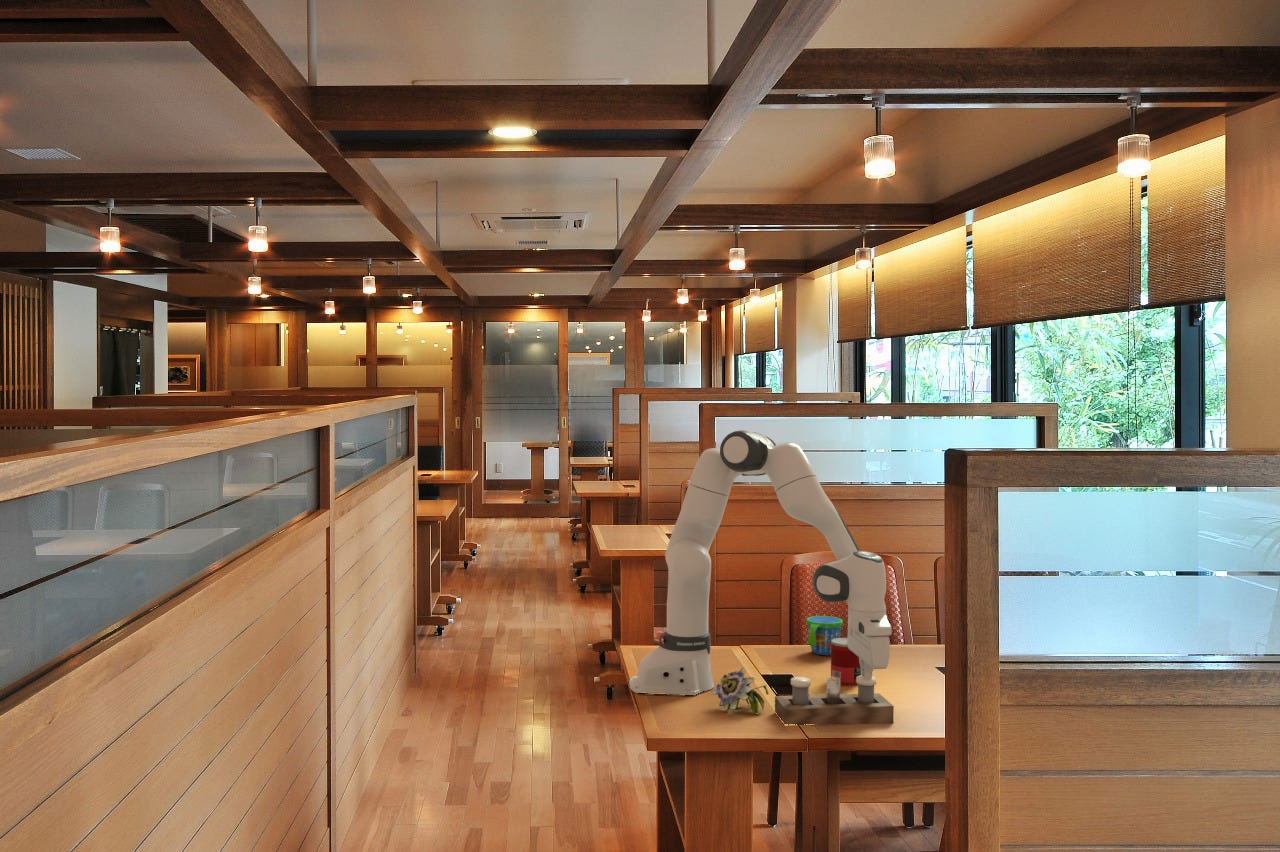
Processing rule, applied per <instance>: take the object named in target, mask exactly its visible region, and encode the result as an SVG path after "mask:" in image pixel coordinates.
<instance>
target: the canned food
mask: <svg viewBox="0 0 1280 852" xmlns="http://www.w3.org/2000/svg"><path fill="white" fill-rule="evenodd" d="M860 675H861V667H860V662H859V657H858V656H857V655H856V654H854V653H853V652H852V651H851V650H850V649H849V648H848V645H847V637H840V638H835V639H832V640H831V655H830V677H831V676H833V677H834V678H839V679H840V686H856V685H857V686H858V684H857V683H856V677H857V676H860Z"/></svg>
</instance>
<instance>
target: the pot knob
mask: <svg viewBox="0 0 1280 852" xmlns="http://www.w3.org/2000/svg"><path fill="white" fill-rule="evenodd" d="M840 694H841V685H840V679H839V678H834V677H833V676H831V675H830V677H827V678H826V695H827V705H830V704H840Z"/></svg>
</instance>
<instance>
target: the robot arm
mask: <svg viewBox="0 0 1280 852" xmlns="http://www.w3.org/2000/svg"><path fill="white" fill-rule="evenodd" d="M740 475H741V476H743V477H744V476H745V477H746V476H750V477H751V476H752V477H753V476H755V477H758V476H765V475H767V477H768V478H769V480H770V481H771V484H772V486H773V489H774V493H775V494H776V496H777V500H778V502H779V504H780V505H781V507H782V509H783V511H785V513H786V514H787V515H788V516H789V517H791V518H793V519H795V520H797V521H800V522H803V523H807V524H809V525H811V526H813V527H815V528H816V529H817V530H819V531H820V532H821V533H822V534H823V536H824V538H825V539H826V541H827V544H828V546H829V547H830V549H831V551H832V553H833V555H834V557H835V559H836V560H835V561H832V562H828V563H824V564H822V565H819V566H818V567H817V568H816V569H815V571H814V573H813V576H812V587H813V590H814V592H815V594H816V596H818V597H817V598H819V599H820V600H822V601H824V602H826V603H838V602H845V603H847V606H848V607H847V637H846V638H847V645H848V648H849V649H850V650H851V651H852V652H853V653H854V654H856V655H857V656H858V657H859V662H860V667H861V675H862V676H863V677H864V678H865V679H872V676H873V672H874V670H887V667H888V666H889V661H890V651H891V650H890V647H891V646H890V645H891V644H890V637H889V636H892V632H893V631H892V629H893V628H892V626H891V624H890V623H889V620H888V616H887V606H886V602H885V596H886V593H887V574H886V566H885V562H884V560H883V558H882V557H881V556H879V555H878V554H876V553H875V552H871V551H864V550H860V548H859V546H858V544H857V542H856V541H855V539H854V536H853V535H852V533H851V532H850V531H851V530H850V529H849V528H848V526H847V524H846V522H845V520H844V518H843V516H842V515H841V513H840V512H839V510H838V508H837V506H835V504H834V503H833V502H832V501H831V500H830V499H829V496H827V493H826V492H825V491H824V489H823V487H822V485H821V483H820V481H819V479H818V477H817V474H816V472H815V469H814V468H813V465H812V464H811V462H810V460H809V459H808V457H807V455H806V453H805V451H804V450H803V449H802V448H801V446H800V445H798V444H797V443H794V442H782V443H780V444H776V443H775V442H774V440H773V439H771V438H769V437H768V436H765V435H764V434H761V433H758V432H755V431H748V430H741V429H740V430H736V431H732V432H730V433H728V434H727V435H726V436H725V437H724V438H723V440H722V441H721V444H720V447H719V448H717V447H712V448H711V447H710V448H707V449H705V450H704V451H702V453H701V454H700V456H699V458H698V459H697V461H696V463H695V466H694V469H693V471H692V473H691V476H690V478H689V482H688V485H687V489H686V491H685V495H684V499H683V503H682V504H681V509H680V512H679V515H678V517H677V520H676V522H675V524H674V526H673V530H672V532H671V535H670V538H669V541H668V544H667V547H666V550H665V556H664V557H665V562H666V565H667V569H668V572H667V573H668V574H667V575H668V576H667V577H668V579H667V580H668V581H667V599H666V631H665V632H663V631H661V630H657V631H656V633H655V637H656V639H657V640H658V646H657V648H655V649H654V650H653V651H651V652H650V653H648V654H647V655H645V656H644V657H643V658H642V659H641V661H640V663H639V666H638V669H637V675H634V676H632V677H631V678H630V679H629V683H628V684H629V685H628V686H629V688H630V690H631V691H632V692H633V693H635V694H638V693H641V692H646V693H649V692H650V693H665V694H685V695H694V696H697V695H699V694H700V692H701V693H703V691H704V692H707V691H710V690H712V689H714V688H715V682H714V679H713V674H712V669H711V662H710V654H711V633H710V631H709V605H710V604H709V601H710V591H711V577H712V558H711V555H710V553H709V552H710V549H711V546H712V544H713V541H714V539H715V537H716V534H717V532H718V530H719V527H720V526H721V523H722V520H723V516H724V514H725V510H726V506H727V503H728V500H729V497H730V493H731V489H732V486H733V484H734V481H735V480H736V479H737V477H739V476H740ZM698 693H699V694H698ZM696 694H697V695H696ZM685 695H684V696H685Z"/></svg>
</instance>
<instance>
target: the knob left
mask: <svg viewBox="0 0 1280 852" xmlns="http://www.w3.org/2000/svg"><path fill="white" fill-rule="evenodd" d="M790 685H791V686H792V691H791V692H792V695H791V696H792V705H793V706H795V705H809V695H810V693H809V692H810V691H809V687H810V686H811V679H810V678H809V677H804V676H795V677H791V678H790Z"/></svg>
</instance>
